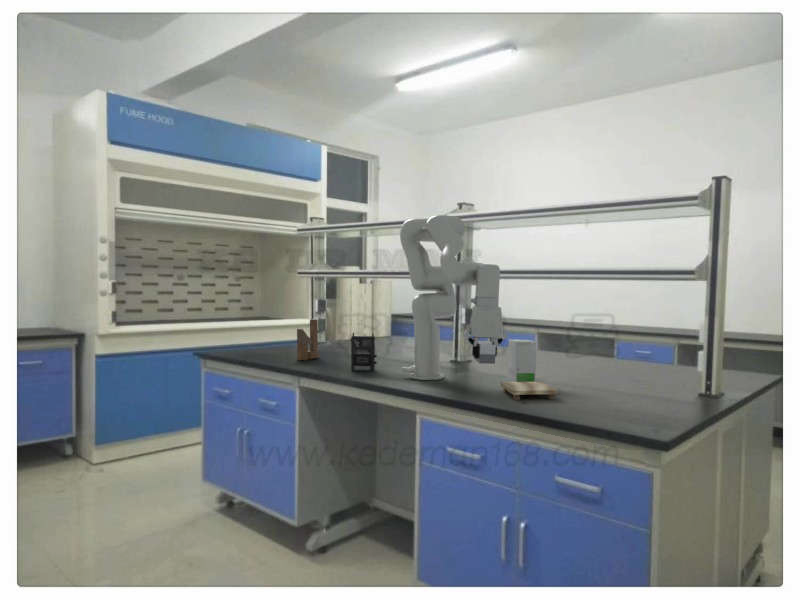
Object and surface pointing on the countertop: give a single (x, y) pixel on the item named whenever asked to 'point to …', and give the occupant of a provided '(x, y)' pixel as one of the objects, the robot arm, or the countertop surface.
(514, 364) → the skincare box
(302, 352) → the wooden block
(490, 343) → the housing
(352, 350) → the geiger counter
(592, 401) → the countertop surface
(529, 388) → the beech stand
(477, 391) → the countertop surface
